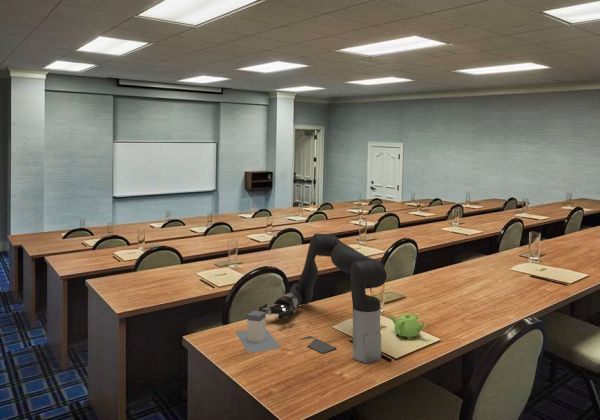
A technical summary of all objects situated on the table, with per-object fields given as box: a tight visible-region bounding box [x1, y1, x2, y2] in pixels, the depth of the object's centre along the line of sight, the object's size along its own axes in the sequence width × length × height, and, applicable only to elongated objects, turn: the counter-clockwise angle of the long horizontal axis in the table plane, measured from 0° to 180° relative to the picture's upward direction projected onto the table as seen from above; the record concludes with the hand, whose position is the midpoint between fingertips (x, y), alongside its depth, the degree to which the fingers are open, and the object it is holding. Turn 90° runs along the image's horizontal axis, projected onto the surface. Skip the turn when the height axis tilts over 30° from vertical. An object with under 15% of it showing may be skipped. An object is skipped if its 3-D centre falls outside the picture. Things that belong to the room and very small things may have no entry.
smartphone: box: [298, 335, 337, 355], centre depth 172 cm, size 7×1×15 cm
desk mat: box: [235, 328, 282, 354], centre depth 177 cm, size 22×12×1 cm, turn 20°
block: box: [246, 310, 267, 343], centre depth 176 cm, size 5×5×10 cm
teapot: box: [389, 313, 427, 340], centre depth 179 cm, size 11×12×8 cm
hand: (269, 316), depth 186 cm, fingers open, 8 cm apart
